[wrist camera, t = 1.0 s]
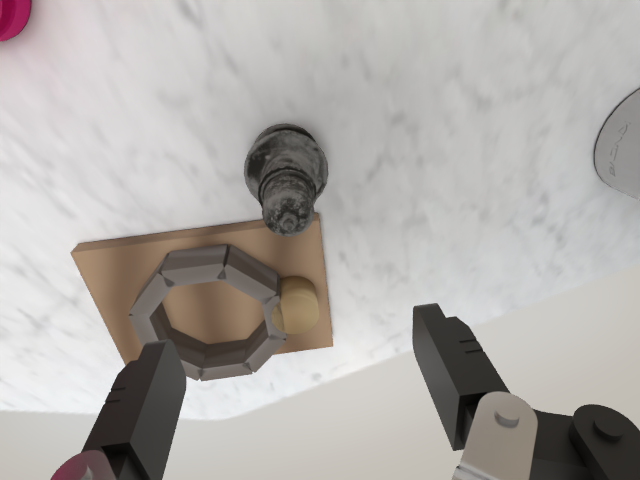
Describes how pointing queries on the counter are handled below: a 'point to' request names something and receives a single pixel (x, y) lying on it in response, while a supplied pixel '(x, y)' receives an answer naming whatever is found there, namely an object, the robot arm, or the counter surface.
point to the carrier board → (212, 294)
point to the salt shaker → (286, 177)
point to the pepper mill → (13, 17)
